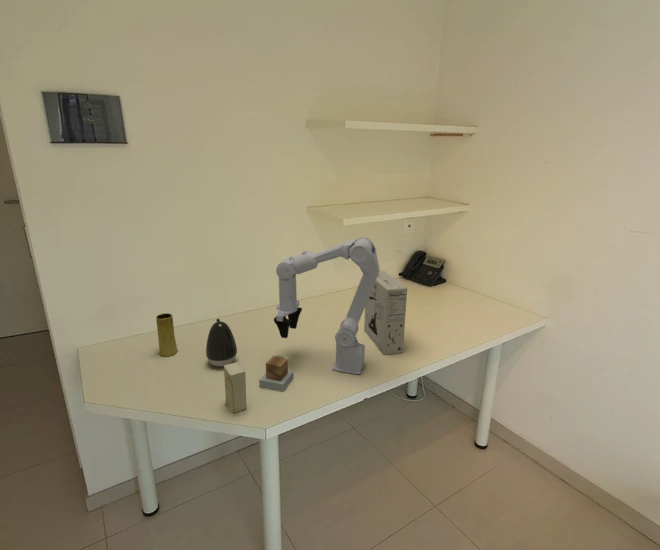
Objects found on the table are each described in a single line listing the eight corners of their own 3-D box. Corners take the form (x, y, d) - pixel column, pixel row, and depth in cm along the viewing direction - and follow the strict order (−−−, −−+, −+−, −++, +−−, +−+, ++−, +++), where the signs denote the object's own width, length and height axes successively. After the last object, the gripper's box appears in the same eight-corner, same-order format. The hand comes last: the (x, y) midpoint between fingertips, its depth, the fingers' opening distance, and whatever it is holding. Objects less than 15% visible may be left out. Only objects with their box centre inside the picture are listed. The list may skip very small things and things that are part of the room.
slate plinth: (293, 379, 131) (293, 371, 130) (283, 393, 123) (283, 384, 122) (270, 375, 133) (270, 367, 132) (259, 388, 126) (259, 379, 125)
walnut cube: (287, 373, 128) (287, 359, 127) (280, 381, 124) (280, 366, 123) (273, 369, 130) (273, 355, 129) (266, 377, 126) (265, 363, 124)
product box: (363, 330, 165) (366, 271, 158) (381, 328, 167) (384, 270, 160) (383, 355, 145) (387, 289, 138) (403, 353, 147) (407, 287, 140)
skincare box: (225, 402, 118) (222, 365, 114) (240, 397, 120) (237, 361, 116) (232, 414, 113) (229, 375, 109) (247, 409, 115) (245, 371, 111)
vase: (175, 356, 143) (171, 319, 139) (157, 357, 142) (152, 320, 138) (179, 348, 149) (175, 312, 145) (161, 349, 148) (156, 313, 144)
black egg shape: (235, 353, 146) (232, 314, 141) (239, 367, 136) (237, 326, 132) (205, 358, 142) (202, 317, 138) (208, 372, 133) (204, 330, 128)
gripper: (285, 287, 142) (286, 322, 146) (267, 301, 129) (268, 340, 133) (304, 289, 140) (304, 325, 144) (287, 303, 127) (288, 343, 131)
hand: (288, 332), depth 138 cm, fingers open, 7 cm apart
